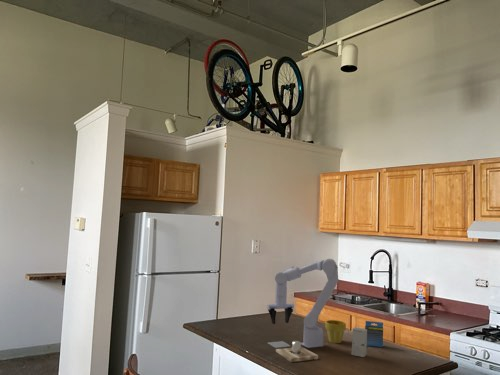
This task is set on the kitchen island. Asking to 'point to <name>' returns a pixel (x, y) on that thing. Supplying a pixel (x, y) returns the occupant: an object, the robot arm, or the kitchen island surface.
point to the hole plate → (298, 357)
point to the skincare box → (359, 341)
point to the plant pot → (335, 330)
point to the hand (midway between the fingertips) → (280, 323)
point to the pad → (278, 344)
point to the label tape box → (374, 333)
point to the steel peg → (296, 347)
